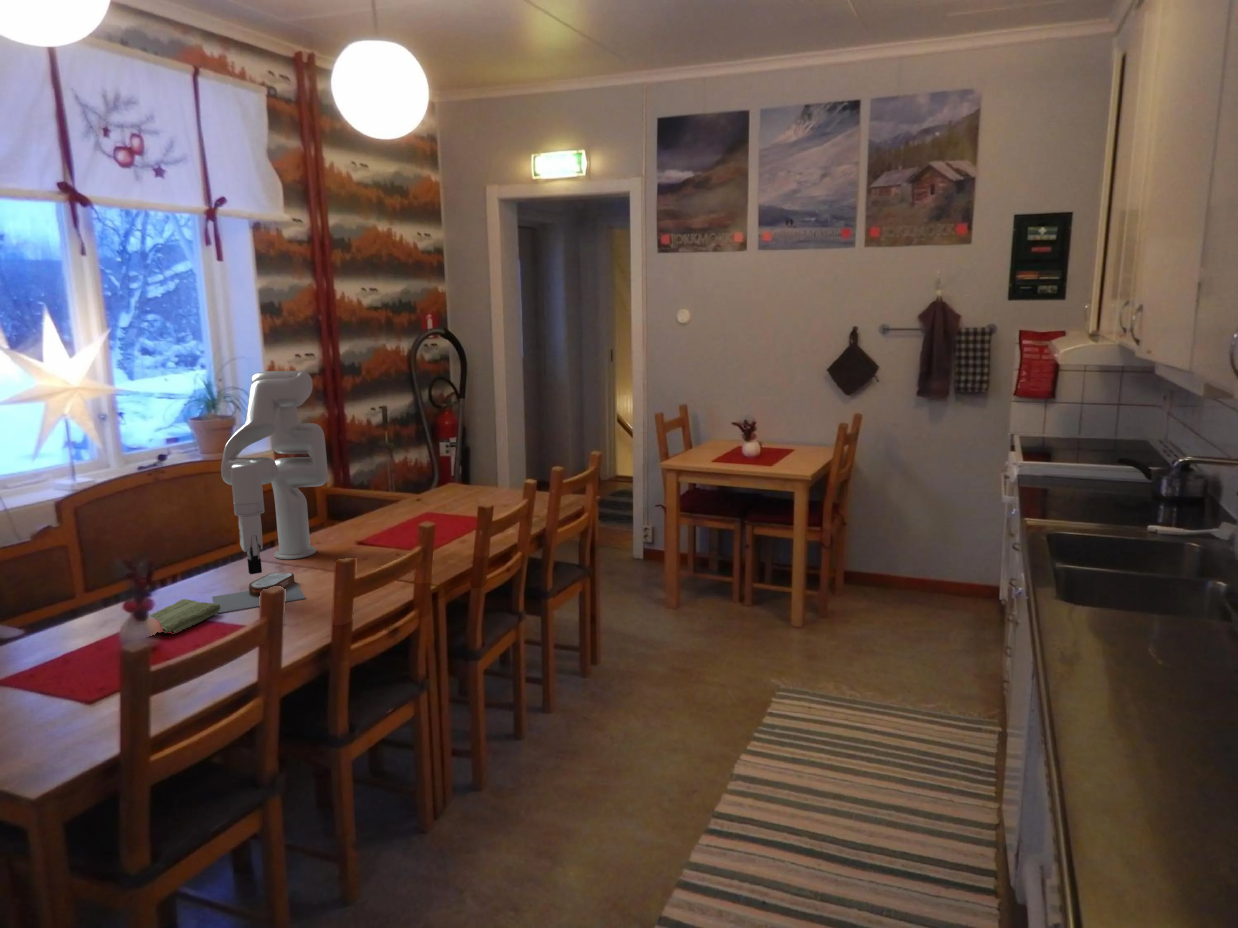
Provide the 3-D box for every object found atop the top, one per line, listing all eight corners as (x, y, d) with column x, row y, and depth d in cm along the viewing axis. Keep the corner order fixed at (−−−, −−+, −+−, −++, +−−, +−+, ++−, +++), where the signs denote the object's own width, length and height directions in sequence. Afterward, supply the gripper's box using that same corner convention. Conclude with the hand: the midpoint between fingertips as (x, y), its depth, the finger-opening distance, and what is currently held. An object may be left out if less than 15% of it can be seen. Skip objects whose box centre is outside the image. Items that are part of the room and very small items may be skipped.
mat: (212, 597, 233) (212, 596, 233) (296, 584, 244) (296, 583, 244) (217, 613, 220) (217, 612, 220) (305, 598, 231) (305, 597, 231)
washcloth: (129, 632, 208) (127, 620, 207) (185, 607, 224) (184, 596, 224) (170, 638, 204) (169, 625, 203) (225, 612, 220) (224, 600, 220)
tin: (242, 595, 233) (270, 599, 232) (242, 584, 233) (269, 588, 231) (274, 578, 248) (300, 582, 246) (274, 568, 247) (300, 571, 246)
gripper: (231, 504, 234) (237, 568, 238) (237, 515, 222) (243, 582, 225) (260, 501, 238) (266, 564, 241) (267, 511, 225) (273, 577, 228)
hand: (255, 572), depth 233 cm, fingers closed
